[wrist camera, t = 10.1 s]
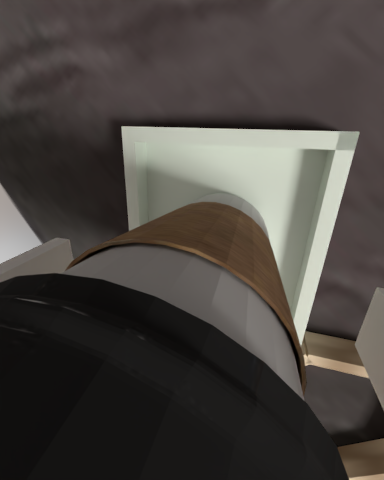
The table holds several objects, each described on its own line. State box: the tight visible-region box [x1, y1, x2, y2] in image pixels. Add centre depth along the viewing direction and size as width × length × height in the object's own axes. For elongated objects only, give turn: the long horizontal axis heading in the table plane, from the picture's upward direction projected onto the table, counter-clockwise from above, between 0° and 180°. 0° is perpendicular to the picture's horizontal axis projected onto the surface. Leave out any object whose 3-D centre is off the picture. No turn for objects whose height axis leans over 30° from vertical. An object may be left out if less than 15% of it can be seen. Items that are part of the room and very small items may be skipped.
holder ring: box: [301, 331, 384, 480], centre depth 19 cm, size 13×13×2 cm
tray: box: [121, 126, 359, 345], centre depth 16 cm, size 13×12×2 cm
